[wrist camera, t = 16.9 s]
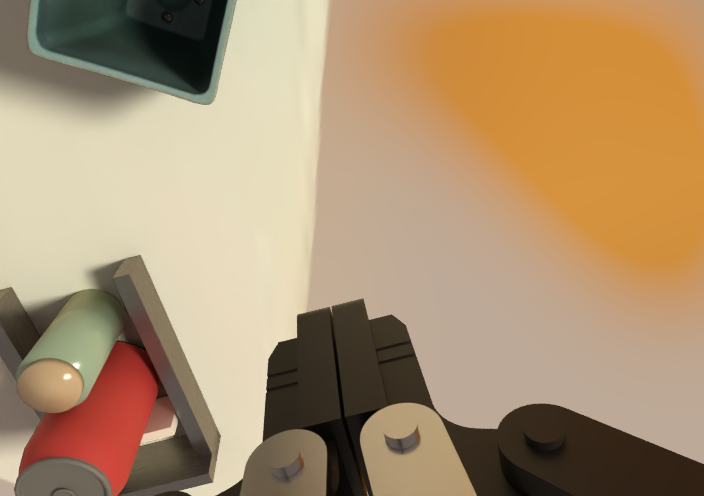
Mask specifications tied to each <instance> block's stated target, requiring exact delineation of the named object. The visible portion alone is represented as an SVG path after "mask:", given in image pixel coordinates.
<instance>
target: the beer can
mask: <svg viewBox="0 0 704 496" xmlns="http://www.w3.org/2000/svg"><path fill="white" fill-rule="evenodd" d="M160 385H161V380H160V378H159V375H158V373H157V371H156V369H155V367H154V365H153V363H152V361H151V359H150V357H149V355H148V353H147V352H146V351H144V350H142V349H141V348H139V347H137V346H135V345H131V344H128V343H124V342H116V343H115V345H114V347H113V349H112V351H111V352H110V354H109V356H108V358H107V360H106V362H105V364H104V366H103V368H102V370H101V372H100V374H99V376H98V377H97V379H96V381H95V383H94V385H93V387H92V389H91V391H90V393H89V395H88V396H87V398H86V399H85V400H84V401H83V402H82V403H80V404H79V405H77V406H75V407H72V408H70V409H69V410H66V411H64V412H60V413H45V415H44V417H43V418H42V420H41V422H40V423H39V425H38V427H37V428H36V430H35V432H34V433H33V435H32V437H31V438H30V440H29V442H28V443H27V445H26V447H25V448H24V452H23V455H22V459H21V463H20V467H19V476H18V478H17V480H16V484H15V488H14V491H15V495H16V496H117V495H118V494H119V493H120V492H121V491H122V489H123V488H124V486H125V485H126V483H127V480H128V478H129V475H130V472H131V469H132V466H133V463H134V460H135V457H136V455H137V452H138V449H139V446H140V443H141V440H142V437H143V434H144V431H145V428H146V426H147V423H148V420H149V417H150V414H151V411H152V408H153V405H154V402H155V400H156V397H157V394H158V391H159V388H160Z"/></svg>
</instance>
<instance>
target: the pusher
mask: <svg viewBox="0 0 704 496" xmlns="http://www.w3.org/2000/svg"><path fill="white" fill-rule="evenodd" d="M178 420H179V417H178V415H177V413H176V411H175V409H174V407H173V405H172V403H171V401H170V398H169V396H166V397H162V398H158V399H156V400H155V402H154V405H153V408H152V411H151V414H150V417H149V420H148V423H147V426H146V428H145V431H144V434H143V437H142V440H141V443H145V442H149V441H153V440H157V439H161V438H165V437H169V436H173V435H175V431H176V428H177V424H178ZM141 443H140V444H141Z"/></svg>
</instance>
